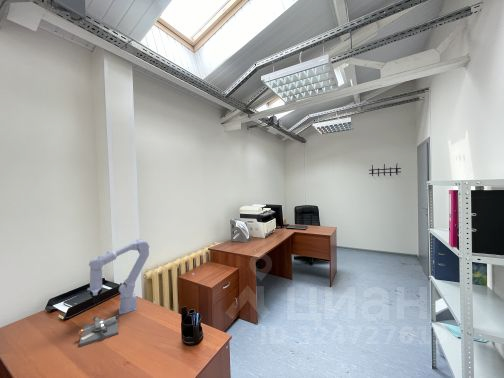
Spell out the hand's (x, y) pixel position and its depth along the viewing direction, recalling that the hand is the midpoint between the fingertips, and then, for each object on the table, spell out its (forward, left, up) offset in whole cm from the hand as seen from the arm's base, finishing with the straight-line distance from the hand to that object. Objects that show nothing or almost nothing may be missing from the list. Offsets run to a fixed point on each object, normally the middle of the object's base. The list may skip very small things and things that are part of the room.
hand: (96, 302), depth 124 cm
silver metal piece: (-2, +13, -9) cm, 16 cm away
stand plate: (-2, +13, -10) cm, 17 cm away
